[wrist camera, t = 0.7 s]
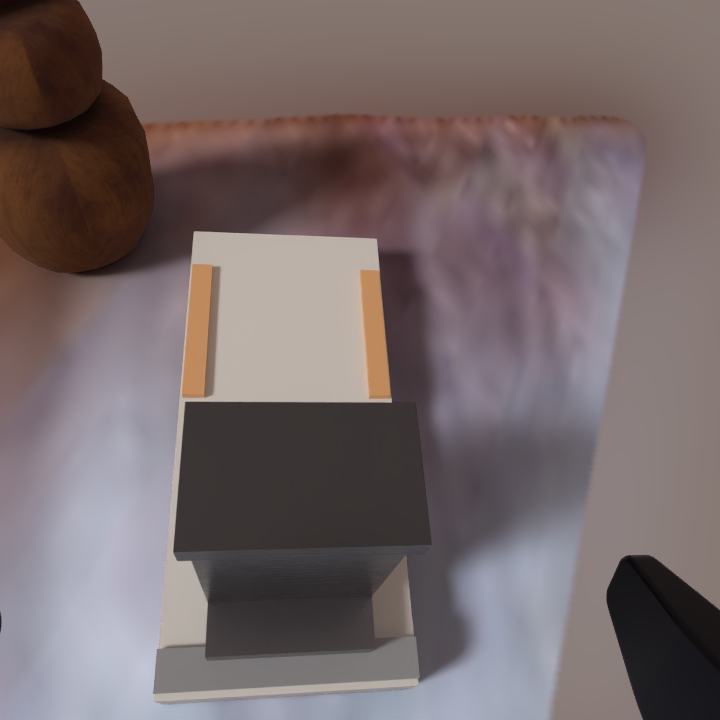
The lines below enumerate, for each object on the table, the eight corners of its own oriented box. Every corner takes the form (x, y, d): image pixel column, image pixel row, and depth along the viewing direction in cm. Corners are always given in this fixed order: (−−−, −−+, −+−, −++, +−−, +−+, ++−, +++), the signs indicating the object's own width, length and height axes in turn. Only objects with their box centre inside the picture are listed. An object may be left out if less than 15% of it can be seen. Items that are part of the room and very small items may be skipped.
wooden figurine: (137, 176, 32) (54, -205, 19) (181, 262, 30) (122, -102, 17) (-10, 215, 29) (-219, -188, 17) (26, 312, 27) (-182, -66, 14)
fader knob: (376, 651, 20) (438, 608, 13) (200, 661, 20) (167, 620, 13) (364, 469, 23) (410, 355, 16) (210, 471, 23) (189, 352, 16)
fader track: (406, 689, 22) (420, 685, 20) (162, 704, 21) (152, 701, 19) (370, 266, 31) (377, 234, 29) (197, 260, 30) (193, 226, 28)
